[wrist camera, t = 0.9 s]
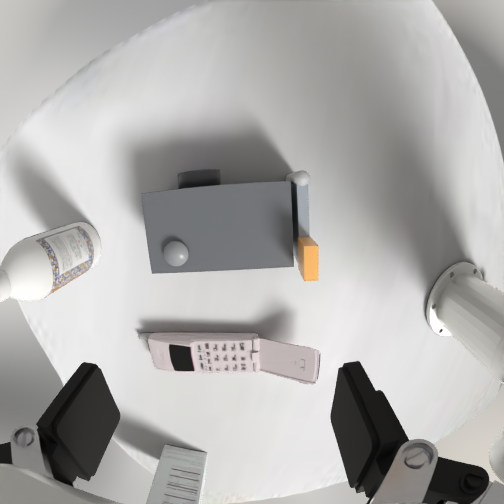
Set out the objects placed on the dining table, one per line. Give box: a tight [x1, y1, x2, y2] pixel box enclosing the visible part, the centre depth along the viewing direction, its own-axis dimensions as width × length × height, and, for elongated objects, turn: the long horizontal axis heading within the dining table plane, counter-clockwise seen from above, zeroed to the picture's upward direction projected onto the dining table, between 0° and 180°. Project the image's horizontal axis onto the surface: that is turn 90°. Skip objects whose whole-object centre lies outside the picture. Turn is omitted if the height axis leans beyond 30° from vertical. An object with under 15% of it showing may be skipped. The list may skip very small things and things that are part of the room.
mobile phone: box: [138, 332, 320, 385], centre depth 35 cm, size 6×6×25 cm
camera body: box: [142, 169, 294, 274], centre depth 29 cm, size 14×10×9 cm
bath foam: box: [0, 222, 101, 302], centre depth 25 cm, size 7×7×20 cm
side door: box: [286, 171, 318, 281], centre depth 28 cm, size 1×9×11 cm, turn 3°
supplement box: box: [146, 444, 207, 504], centre depth 38 cm, size 10×9×17 cm
